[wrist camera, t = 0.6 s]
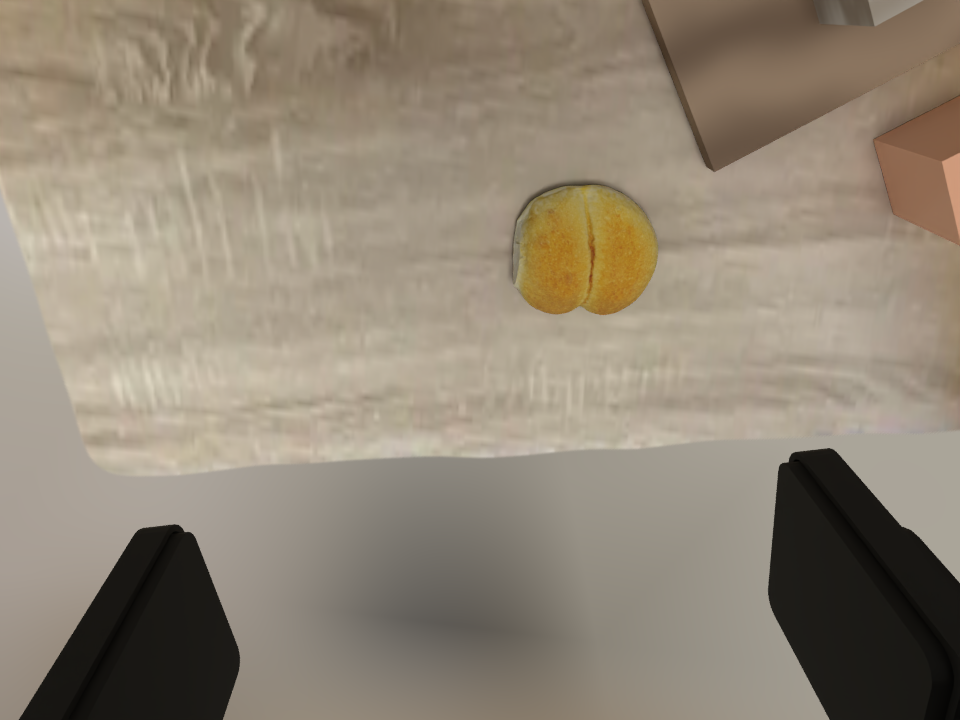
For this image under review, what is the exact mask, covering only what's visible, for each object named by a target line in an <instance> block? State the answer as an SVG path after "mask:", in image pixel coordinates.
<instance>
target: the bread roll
mask: <svg viewBox="0 0 960 720" xmlns="http://www.w3.org/2000/svg"><path fill="white" fill-rule="evenodd" d="M513 251H514V253H513V273H512V274H513V281H514V282H513V284H514V287H515V288H517V289H518V290H519V291H520V293H521V294H522V296H523V297H524V299H525V300H526V301H527V302H528V303H529V304H530V305H531V306H533V307H534V308H536V309H539V310H541V311H543V312H546V313H550V314H562V313H567V312H570V311H572V310H574V309H575V308H577V307H578V306H581V307H583V308H585V309H586V310H587V311H590V312H592V313H595V314H599V315H607V314H612V313H616V312H618V311H620V310H622V309H624V308H625V307H627V306H629V305H630V304H631V303H633V302H634V301H635V300H636V299H637V298H638V297H639V296H640V295H641V293H642V292H643V291H644V289H645V288H646V286H647V284H648V283H649V281H650V279H651V277H652V275H653V273H654V270H655V267H656V263H657V257H658V243H657V239H656V235H655V232H654V229H653V227H652V225H651V223H650V221H649V219H648V218H647V216H646V214H645V213H644V212H643V211H642V210H641V208H640V207H639V206H638V205H637V204H636V203H634V202H633V201H632V200H631V199H630V198H628V197H627V196H626V195H624V194H623V193H620V192H618V191H616V190H614V189H612V188H610V187H606V186H602V185H584V186H563V187H559V188H556V189H553V190H551V191H548V192H545V193H544V194H542V195H540V196H538V197H536V198H534V199H533V200H532V201H531V202H530V203H529V204H528V206H527V207H526V208H525V210H524V211H523V212H522V214H521V216H520V217H519V218H518V220H517V225H516V230H515V237H514V243H513Z"/></svg>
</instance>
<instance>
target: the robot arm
mask: <svg viewBox="0 0 960 720" xmlns="http://www.w3.org/2000/svg"><path fill="white" fill-rule="evenodd" d="M768 595H769V601H770V605H771V608H772V611H773V613H774V615H775V617H776V619H777V621H778V623H779V625H780V627H781V629H782V630H783V632H784V634H785V636H786V638H787V640H788V642H789V644H790V645H791V648H792V649H793V651H794V653H795V655H796V657H797V659H798V660H799V663H800V665H801V666H802V668H803V670H804V672H805V674H806V676H807V678H808V680H809V681H810V683H811V685H812V687H813V689H814V691H815V693H816V695H817V697H818V698H819V700H820V702H821V704H822V706H823V708H824V710H825V712H826V714H827V715H828V717H829V719H830V720H960V583H959V582H958V581H957V579H955V577H954V576H953V575H952V574H951V573H950V572H949V570H948V569H947V568H946V567H945V566H944V565H943V564H942V563H941V561H940V560H939V559H938V558H937V557H936V556H935V555H934V554H933V553H932V551H931V550H930V549H929V548H928V547H927V546H926V545H925V544H924V542H923V541H922V540H921V539H920V538H919V537H918V536H917V535H916V534H915V533H914V532H912V531H911V530H909V529H906V528H904V527H901V525H899V523H898V522H897V521H896V520H895V519H894V517H893V516H892V515H891V514H890V513H889V512H888V510H887V509H885V507H884V506H883V505H882V504H881V502H880V501H879V500H878V499H877V498H876V497H875V496H874V494H873V493H872V492H871V491H870V490H869V489H868V488H867V486H866V485H865V484H864V483H863V482H862V481H861V479H860V478H859V477H858V476H857V475H856V474H855V473H854V471H853V470H852V469H851V468H850V467H849V466H848V465H847V463H846V462H845V461H844V460H843V459H842V458H841V457H840V455H839V454H838V453H837V452H836V451H834V450H833V449H830V448H827V449H818V450H810V451H801V452H795V453H792V454H791V456H790V458H789V462H788V463H782V464H781V465H780V466H779V471H778V481H777V492H776V504H775V515H774V528H773V539H772V550H771V562H770V575H769V586H768ZM239 666H240V655H239V649H238V646H237V644H236V641H235V638H234V636H233V634H232V631H231V628H230V626H229V623H228V620H227V618H226V615H225V613H224V610H223V608H222V605H221V602H220V600H219V597H218V595H217V592H216V590H215V587H214V584H213V582H212V579H211V577H210V574H209V572H208V569H207V566H206V564H205V562H204V559H203V556H202V554H201V551H200V548H199V546H198V543H197V541H196V538H195V537H194V535H193V534H192V533H190V532H184V530H183V529H182V528H181V527H180V526H179V525H175V524H174V525H166V526H157V527H149V528H142V529H140V530H138V531H137V532H136V533H135V534H134V536H133V537H132V539H131V541H130V542H129V544H128V545H127V547H126V549H125V550H124V552H123V554H122V555H121V557H120V558H119V560H118V562H117V563H116V565H115V566H114V568H113V570H112V571H111V573H110V574H109V576H108V578H107V579H106V581H105V582H104V584H103V586H102V587H101V589H100V590H99V592H98V594H97V595H96V597H95V599H94V600H93V602H92V603H91V605H90V607H89V608H88V610H87V611H86V613H85V614H84V616H83V618H82V619H81V621H80V623H79V624H78V626H77V628H76V629H75V631H74V632H73V634H72V635H71V637H70V639H69V640H68V642H67V644H66V645H65V647H64V648H63V650H62V651H61V653H60V655H59V656H58V658H57V659H56V661H55V663H54V665H53V666H52V668H51V669H50V671H49V673H48V674H47V676H46V677H45V679H44V680H43V682H42V684H41V685H40V687H39V688H38V690H37V692H36V693H35V695H34V697H33V698H32V700H31V701H30V703H29V705H28V706H27V708H26V709H25V711H24V713H23V714H22V716H21V717H20V719H19V720H223V717H224V714H225V711H226V708H227V705H228V702H229V699H230V696H231V693H232V690H233V687H234V684H235V681H236V678H237V675H238V672H239Z"/></svg>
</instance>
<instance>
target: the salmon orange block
mask: <svg viewBox="0 0 960 720" xmlns="http://www.w3.org/2000/svg"><path fill="white" fill-rule="evenodd" d="M873 140H874V144H875V148H876V151H877V155H878V159H879V162H880V166H881V170H882V173H883V177H884V181H885V184H886V188H887V192H888V195H889V199H890V203H891V206H892V210H893V214H894V215H896V216H898V217H901V218H903V219H905V220H907V221H909V222H911V223H913V224H915V225H917V226H919V227H922V228H924V229H926V230H928V231H930V232H932V233H934V234H936V235H938V236H940V237H942V238H945V239H947V240H949V241H951V242H953V243H955V244H957V245H959V246H960V96H958V97H956V98H954V99H952V100H950V101H948V102H946V103H944V104H942V105H940V106H938V107H936V108H934V109H932V110H930V111H929V112H927V113H925V114H923V115H921V116H919V117H917V118H915V119H913V120H911V121H909V122H907V123H905V124H903V125H901V126H899V127H897V128H895V129H893V130H891V131H889V132H887V133H885V134H883V135H881V136H879V137H877V138H875V139H873Z"/></svg>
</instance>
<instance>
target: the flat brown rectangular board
mask: <svg viewBox="0 0 960 720" xmlns="http://www.w3.org/2000/svg"><path fill="white" fill-rule="evenodd" d="M642 2H643V5H644V7H645V10H646V13H647V15H648V18H649V20H650V23H651V25H652V28H653V31H654V33H655V36H656V38H657V41H658V43H659V46H660V49H661V51H662V54H663V56H664V59H665V61H666V64H667V67H668V69H669V72H670V74H671V77H672V79H673V82H674V85H675V87H676V90H677V92H678V95H679V97H680V100H681V103H682V105H683V108H684V110H685V113H686V115H687V118H688V121H689V123H690V126H691V128H692V131H693V133H694V136H695V139H696V141H697V144H698V146H699V149H700V151H701V154H702V157H703V159H704V162H705V164H706V167H708V168H709V169H711V170H712V171H714V172H715V171H717V170H719V169H721V168H723V167H725V166H727V165H729V164H731V163H733V162H735V161H736V160H738V159H740V158H742V157H744V156H746V155H748V154H750V153H752V152H754V151H756V150H758V149H759V148H761V147H763V146H765V145H767V144H769V143H771V142H773V141H775V140H777V139H779V138H780V137H782V136H784V135H786V134H788V133H790V132H792V131H794V130H796V129H798V128H800V127H801V126H803V125H805V124H807V123H809V122H811V121H813V120H815V119H817V118H819V117H821V116H823V115H824V114H826V113H828V112H830V111H832V110H834V109H836V108H838V107H840V106H842V105H844V104H845V103H847V102H849V101H851V100H853V99H855V98H857V97H859V96H861V95H863V94H865V93H867V92H868V91H870V90H872V89H874V88H876V87H878V86H880V85H882V84H884V83H886V82H888V81H889V80H891V79H893V78H895V77H897V76H899V75H901V74H903V73H905V72H907V71H909V70H910V69H912V68H914V67H916V66H918V65H920V64H922V63H924V62H926V61H928V60H930V59H932V58H933V57H935V56H937V55H939V54H941V53H943V52H945V51H947V50H949V49H951V48H953V47H954V46H956V45H958V44H960V0H642Z"/></svg>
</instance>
